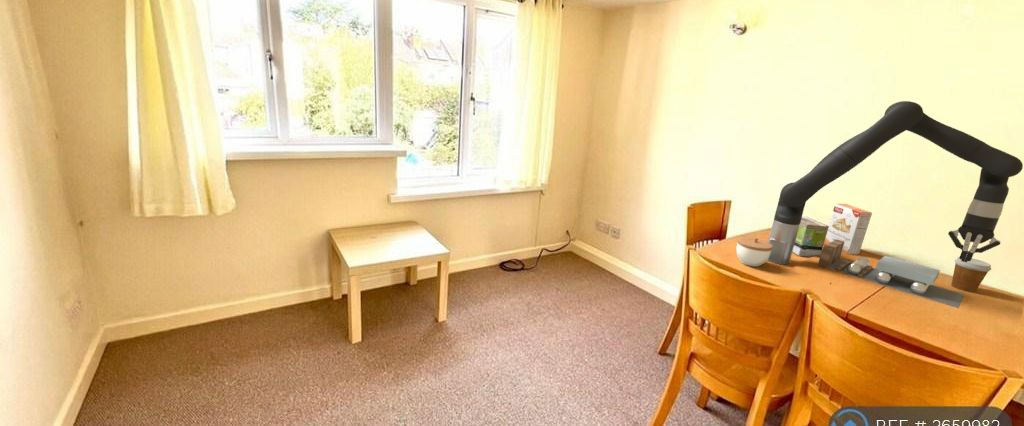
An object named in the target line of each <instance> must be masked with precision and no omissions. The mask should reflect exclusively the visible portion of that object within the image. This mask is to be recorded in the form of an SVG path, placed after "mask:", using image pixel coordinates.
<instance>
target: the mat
mask: <svg viewBox="0 0 1024 426" xmlns="http://www.w3.org/2000/svg"><path fill="white" fill-rule="evenodd" d="M845 261H846V259H841V258H839V259H838V260H837V261H836V262H834V263H833V264H831V265H830V266H828V267H827V269H829V270H832V271H836V272H839V273H842V274H845V275H849V276H851V277H855V278H858V279H862V280H865V281H867V282H868V281H869V282H872V283H875V284H878V285H880V286H884V287H887V288H891V289H894V290H897V291H900V292H903V293H907V294H910V295H914V296H917V297H920V298H924V299H927V300H930V301H933V302H936V303H939V304H944V305H945V306H950V307H953V308H957V309H959V307H960V305H961V303H962V300H963V299H964V296H965V294H963V293H961V292H958V291H953V290H950V289H947V288H943V287H939V286H935V285H934V284H933V285H929V287H928V288H927V290H926V291H925V293H923V294H921V295H917V294H914V293H912V292H911V290H910V287H911V285H912V284H913V283H914V281H915V280H912V279H908V278H905V277H901V276H898V275H894V277H893V278H892V279H891V280H890V281H889V282H888V283H886V284H880V283H878V282H877V281H876V279H875V277H876V275H877V274H878V273H879V272H880V270H877V269H876V268H873V267H872V269H871V270H870V271H869V272H868V273H867V274H866V275H864V276H863V277H862V278H861V277H857V275H858V274H856V275H851V274H849V273H848V272H847V270H846V269H847V267H848V266H849V265H850V264H852V263H853V261H852V262H851V263H850V264H849V265H848V266H846V267H845V268H844V269H842V270H841V271H838V270H836V267H838V266H839V265H841V264H842V263H843V262H845ZM866 267H867V266H866ZM866 267H865V268H866ZM860 272H861V271H860ZM860 272H859V273H860Z"/></svg>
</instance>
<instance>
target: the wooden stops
mask: <svg viewBox="0 0 1024 426" xmlns="http://www.w3.org/2000/svg"><path fill="white" fill-rule="evenodd" d="M844 242H845V241H841V240H837V239H836V240H834V241H833V242H831V243H829V244H827V245H826V246H825V245H823V248H822V251H821V255H820V256H819V259H818V263H817V266H818V267H822V268H825V269H826V268H827V267H829V266H830V265H832V264H833V263H835V262H836V261H838V260H839V259H841V255H842V253H843V252H842V249H843V246H844ZM851 262H852V263H853V261H852V260H851V259H845V262H843V263H842V264H841V265H839V266H838V267H836V270H838V271H841V270H842V269H844V268H845V267H846V266H848V265H849V264H850V263H851ZM872 268H873V266H872V265H870V264H869V265H868V266H866V268H864V269H863V270H862V271H861V272H860V273H858V275H857V277H856V278H858V277H861V278H862V277H863V276H864V275H866V274H867V273H868V272H869V271H870V270H871V269H872ZM827 269H828V268H827ZM838 271H837V272H838ZM861 278H860V279H861Z"/></svg>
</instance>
